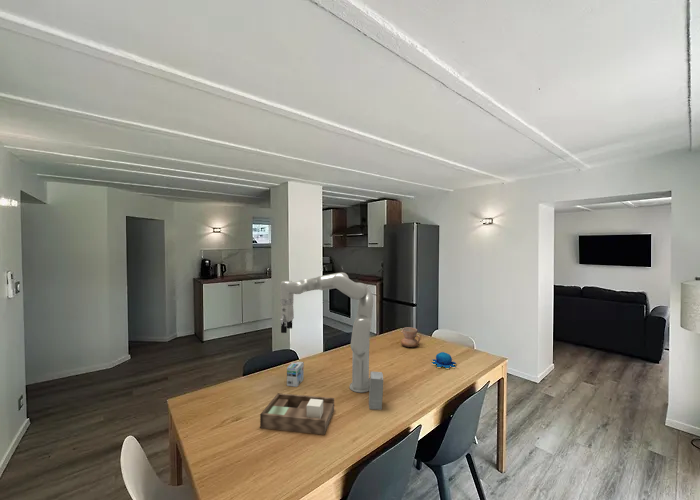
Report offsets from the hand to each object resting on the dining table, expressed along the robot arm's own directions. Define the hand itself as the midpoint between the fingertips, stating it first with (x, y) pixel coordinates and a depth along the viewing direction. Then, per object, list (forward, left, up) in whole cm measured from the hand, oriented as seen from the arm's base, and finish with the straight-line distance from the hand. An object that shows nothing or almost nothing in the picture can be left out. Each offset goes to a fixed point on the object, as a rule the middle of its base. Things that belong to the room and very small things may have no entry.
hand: (286, 330), depth 174 cm
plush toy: (-97, -45, -31) cm, 111 cm away
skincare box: (-54, +17, -31) cm, 65 cm away
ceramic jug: (-76, -81, -31) cm, 115 cm away
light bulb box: (-5, -1, -31) cm, 32 cm away
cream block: (-28, +38, -27) cm, 55 cm away
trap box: (-20, +34, -31) cm, 50 cm away
